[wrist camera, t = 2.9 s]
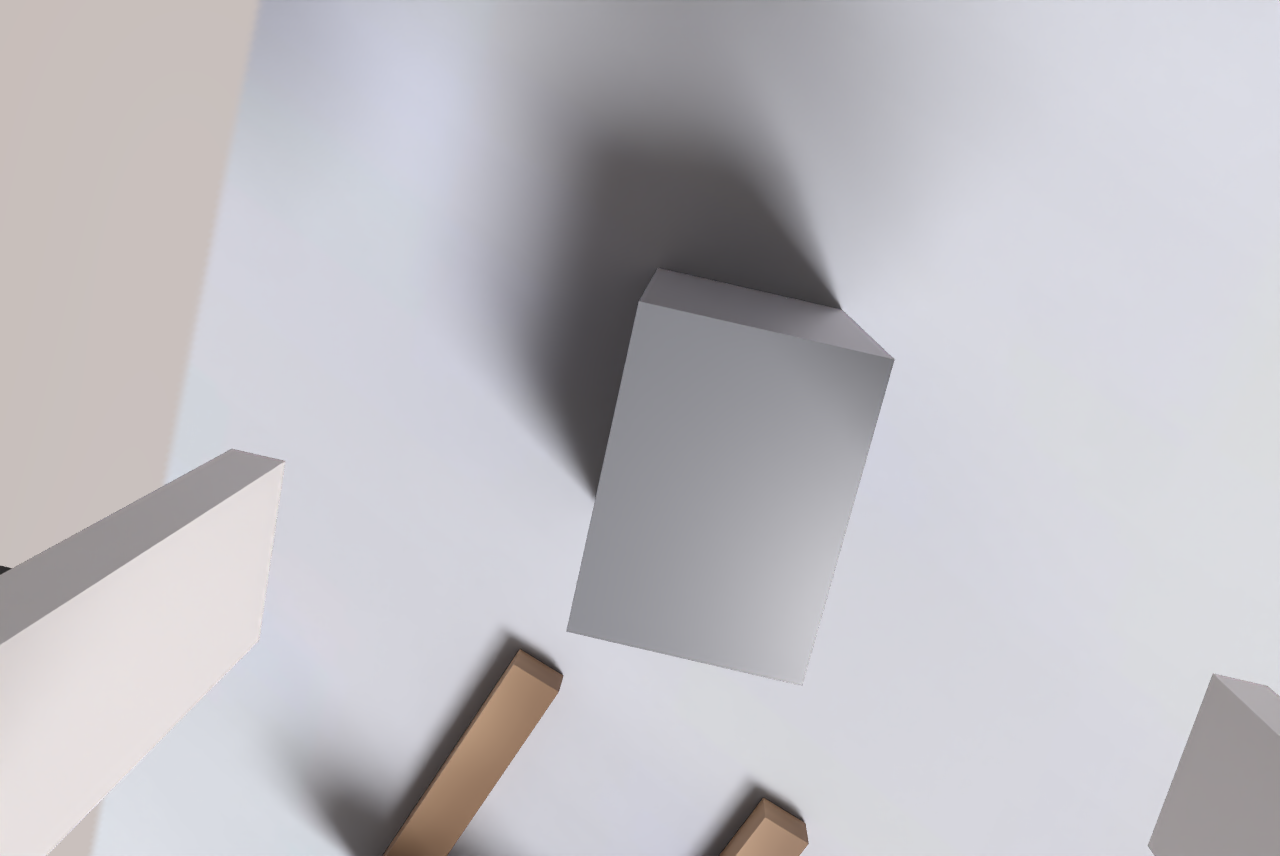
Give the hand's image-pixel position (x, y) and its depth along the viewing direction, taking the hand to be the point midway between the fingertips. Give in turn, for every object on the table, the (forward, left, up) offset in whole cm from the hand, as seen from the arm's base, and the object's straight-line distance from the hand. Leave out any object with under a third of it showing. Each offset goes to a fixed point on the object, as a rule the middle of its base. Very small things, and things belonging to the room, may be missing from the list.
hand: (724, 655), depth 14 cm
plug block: (0, 0, -15) cm, 15 cm away
